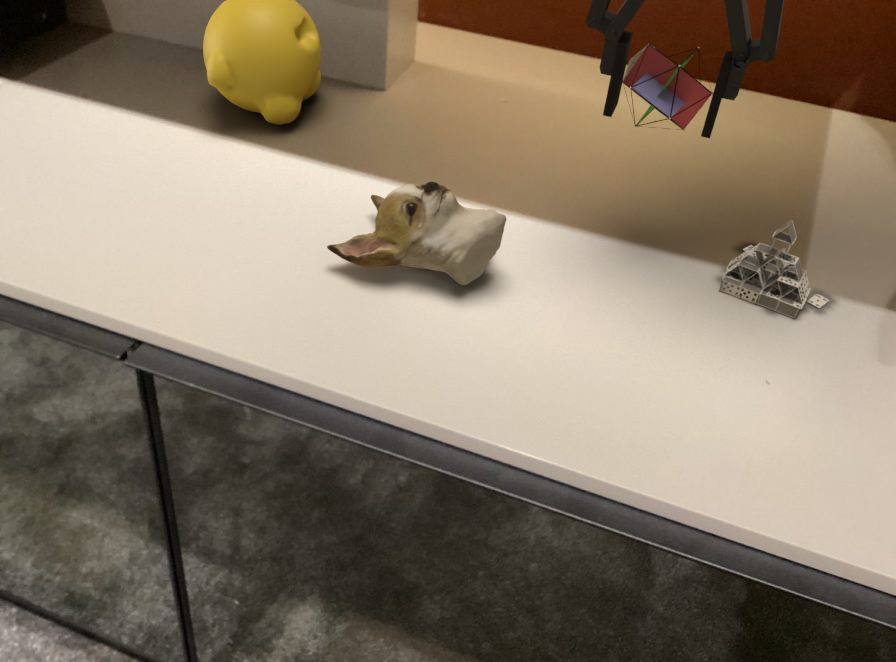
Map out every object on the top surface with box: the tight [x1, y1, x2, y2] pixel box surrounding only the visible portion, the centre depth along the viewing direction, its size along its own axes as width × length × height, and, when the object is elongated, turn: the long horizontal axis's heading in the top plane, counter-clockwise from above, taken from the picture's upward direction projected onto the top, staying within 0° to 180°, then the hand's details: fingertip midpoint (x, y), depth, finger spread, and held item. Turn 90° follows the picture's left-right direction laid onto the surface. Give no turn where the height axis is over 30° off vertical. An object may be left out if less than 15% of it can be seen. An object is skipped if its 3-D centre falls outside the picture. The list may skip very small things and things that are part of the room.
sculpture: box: [202, 0, 322, 126], centre depth 104 cm, size 15×13×13 cm
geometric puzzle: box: [622, 43, 714, 132], centre depth 81 cm, size 7×7×8 cm
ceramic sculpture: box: [326, 181, 507, 286], centre depth 86 cm, size 11×9×15 cm
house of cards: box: [718, 219, 830, 320], centre depth 85 cm, size 9×9×8 cm
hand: (658, 119), depth 83 cm, fingers closed on geometric puzzle, 8 cm apart
